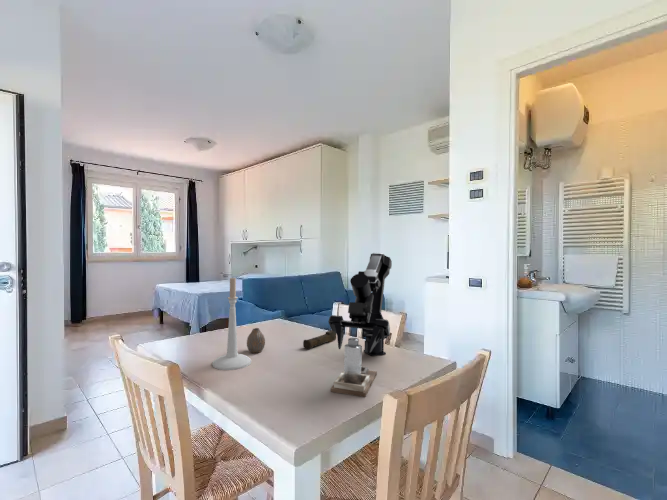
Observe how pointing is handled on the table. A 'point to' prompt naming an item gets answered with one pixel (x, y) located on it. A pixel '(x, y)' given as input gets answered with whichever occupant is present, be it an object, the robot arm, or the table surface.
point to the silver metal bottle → (352, 362)
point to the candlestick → (232, 339)
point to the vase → (255, 341)
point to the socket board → (355, 389)
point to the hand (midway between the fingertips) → (354, 350)
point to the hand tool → (320, 340)
